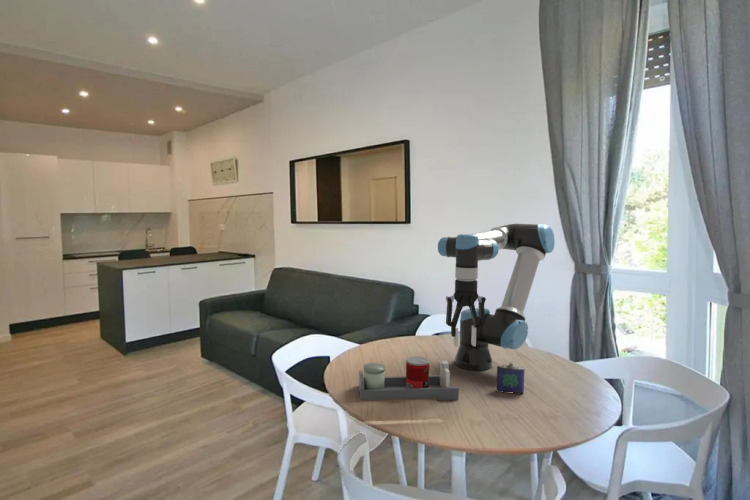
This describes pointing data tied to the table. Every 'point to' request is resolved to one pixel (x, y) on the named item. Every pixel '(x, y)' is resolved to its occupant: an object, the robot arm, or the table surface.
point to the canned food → (417, 372)
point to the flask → (510, 378)
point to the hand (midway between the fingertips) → (464, 345)
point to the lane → (407, 389)
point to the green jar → (374, 376)
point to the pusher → (444, 374)
